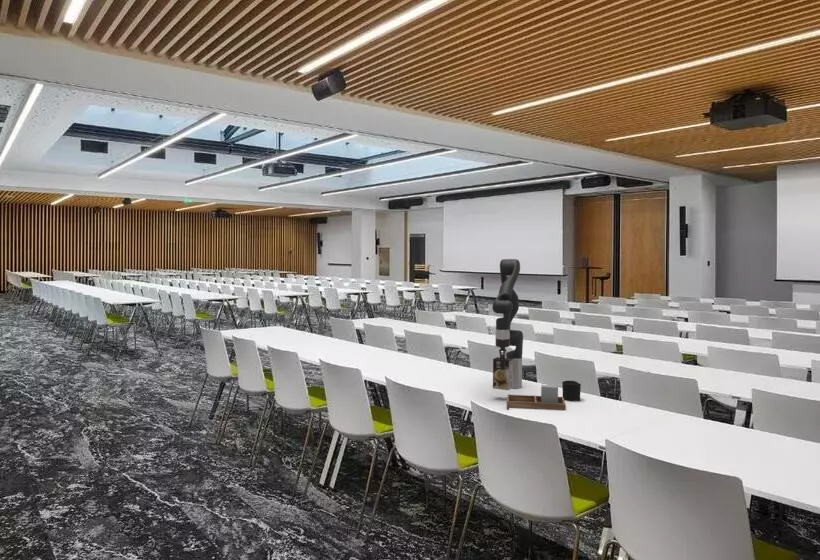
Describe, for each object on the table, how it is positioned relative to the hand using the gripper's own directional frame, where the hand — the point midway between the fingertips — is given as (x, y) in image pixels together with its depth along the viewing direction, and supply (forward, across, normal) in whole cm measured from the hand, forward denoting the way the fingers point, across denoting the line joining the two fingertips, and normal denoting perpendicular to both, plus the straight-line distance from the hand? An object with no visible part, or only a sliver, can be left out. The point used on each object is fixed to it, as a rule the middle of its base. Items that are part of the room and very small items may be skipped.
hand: (502, 368), depth 311 cm
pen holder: (+17, -2, +36) cm, 40 cm away
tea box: (+16, +13, +24) cm, 31 cm away
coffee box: (+11, 0, 0) cm, 11 cm away
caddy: (+17, +13, +17) cm, 27 cm away
